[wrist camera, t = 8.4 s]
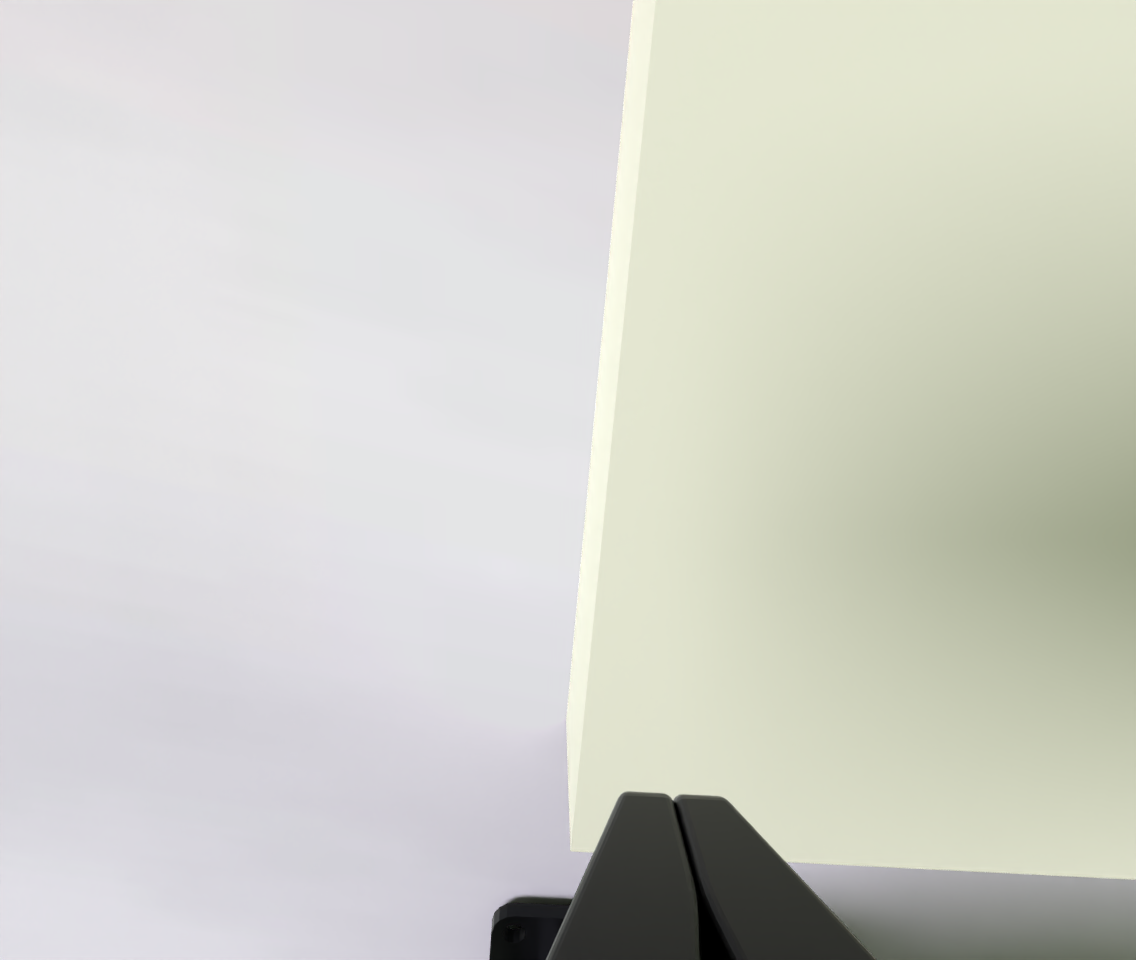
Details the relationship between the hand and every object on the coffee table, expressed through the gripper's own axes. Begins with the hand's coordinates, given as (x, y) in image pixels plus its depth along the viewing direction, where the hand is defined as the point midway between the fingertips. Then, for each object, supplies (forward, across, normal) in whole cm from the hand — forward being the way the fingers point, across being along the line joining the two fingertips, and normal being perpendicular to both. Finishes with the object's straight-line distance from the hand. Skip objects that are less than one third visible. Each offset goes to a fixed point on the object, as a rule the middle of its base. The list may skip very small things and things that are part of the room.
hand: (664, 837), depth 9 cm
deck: (+12, -6, -3) cm, 14 cm away
